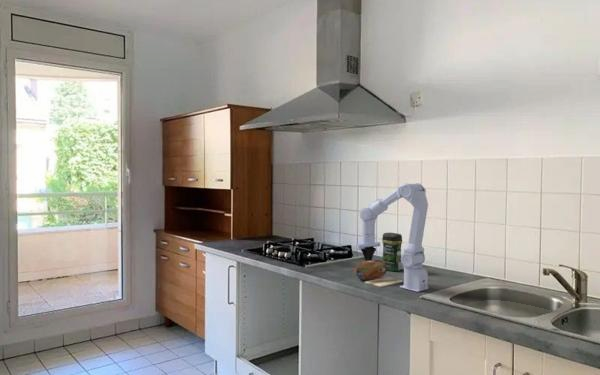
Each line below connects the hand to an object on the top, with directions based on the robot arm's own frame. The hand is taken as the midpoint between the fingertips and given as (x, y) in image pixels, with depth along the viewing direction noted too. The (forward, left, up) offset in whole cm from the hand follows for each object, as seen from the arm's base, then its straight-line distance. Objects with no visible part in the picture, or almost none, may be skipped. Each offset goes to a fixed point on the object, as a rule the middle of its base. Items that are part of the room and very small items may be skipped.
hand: (368, 263), depth 200 cm
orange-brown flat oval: (-1, 0, -7) cm, 7 cm away
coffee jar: (+5, -23, -7) cm, 25 cm away
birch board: (-9, 0, -7) cm, 12 cm away
